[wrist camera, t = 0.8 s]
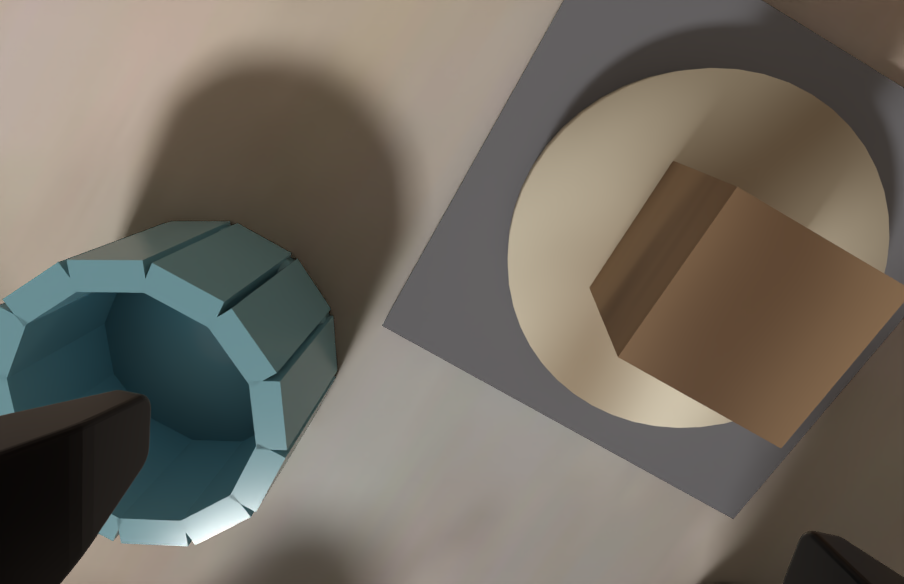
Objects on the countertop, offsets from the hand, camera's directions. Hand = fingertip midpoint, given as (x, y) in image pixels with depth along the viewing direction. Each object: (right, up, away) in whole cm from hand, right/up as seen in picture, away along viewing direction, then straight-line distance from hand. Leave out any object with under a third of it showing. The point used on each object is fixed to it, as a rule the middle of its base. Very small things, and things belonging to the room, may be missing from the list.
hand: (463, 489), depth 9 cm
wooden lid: (+7, +4, +10) cm, 12 cm away
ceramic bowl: (-8, +1, +13) cm, 15 cm away
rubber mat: (+7, +4, +10) cm, 13 cm away
